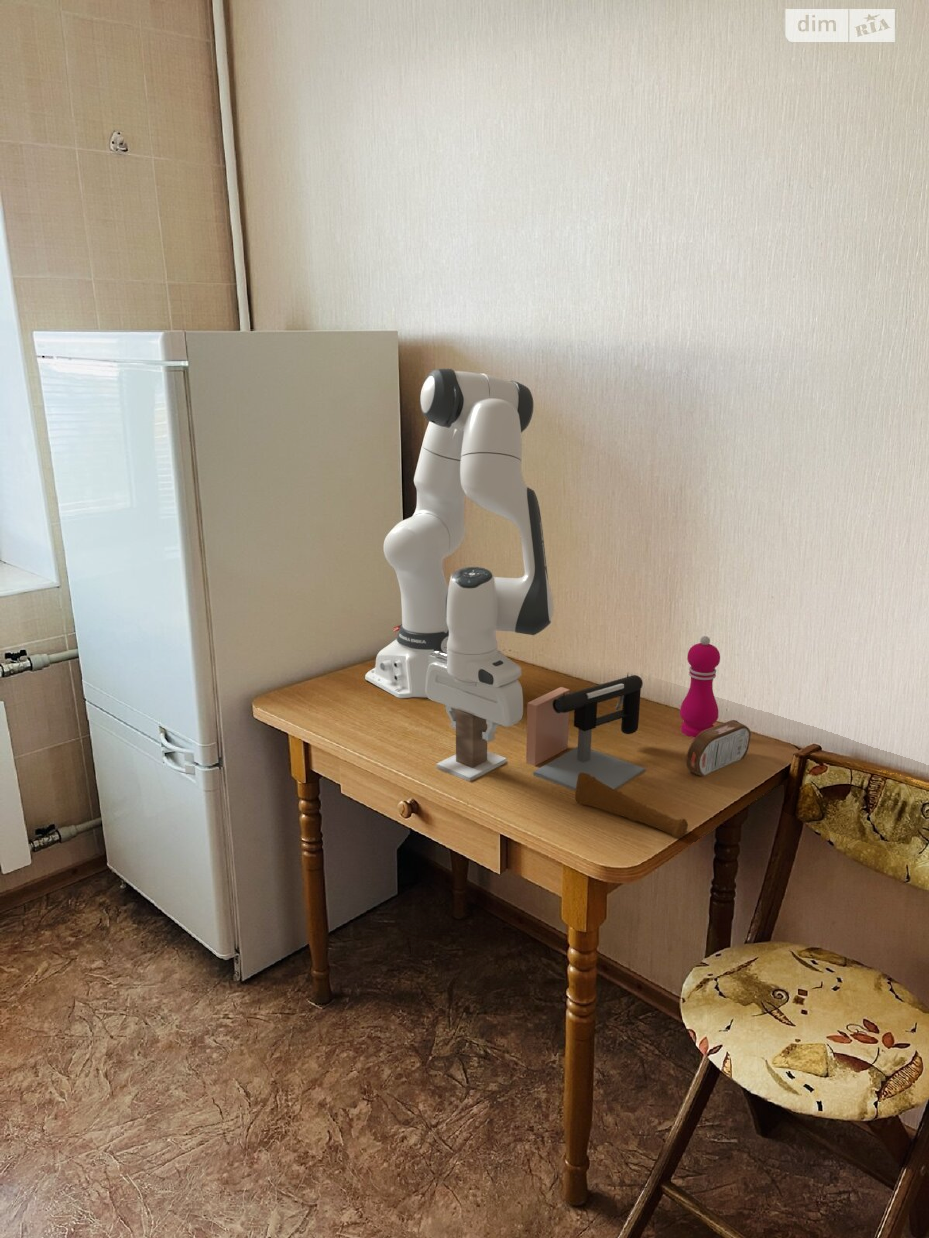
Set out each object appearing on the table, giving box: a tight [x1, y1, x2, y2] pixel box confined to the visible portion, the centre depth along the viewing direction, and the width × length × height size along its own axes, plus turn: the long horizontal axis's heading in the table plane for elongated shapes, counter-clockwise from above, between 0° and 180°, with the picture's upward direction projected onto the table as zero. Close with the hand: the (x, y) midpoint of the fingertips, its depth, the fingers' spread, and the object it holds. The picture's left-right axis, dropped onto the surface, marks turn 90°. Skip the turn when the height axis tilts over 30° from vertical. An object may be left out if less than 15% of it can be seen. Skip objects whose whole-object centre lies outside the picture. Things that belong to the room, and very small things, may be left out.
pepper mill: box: [679, 635, 721, 739], centre depth 176 cm, size 7×7×20 cm
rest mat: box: [533, 745, 646, 791], centre depth 163 cm, size 14×14×1 cm
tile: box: [525, 686, 571, 767], centre depth 168 cm, size 2×10×12 cm, turn 138°
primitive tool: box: [574, 773, 689, 839], centre depth 146 cm, size 19×6×4 cm
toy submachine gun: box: [553, 673, 643, 762], centre depth 166 cm, size 3×20×16 cm, turn 125°
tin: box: [685, 719, 752, 777], centre depth 164 cm, size 15×3×8 cm, turn 127°
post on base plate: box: [435, 709, 507, 782], centre depth 165 cm, size 8×10×11 cm
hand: (472, 734), depth 165 cm, fingers open, 6 cm apart
